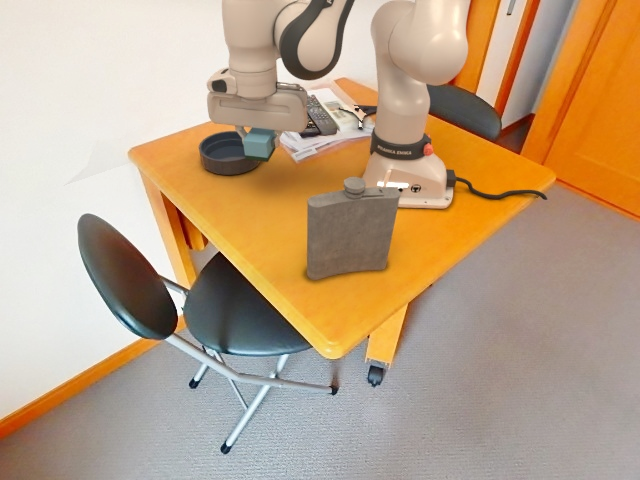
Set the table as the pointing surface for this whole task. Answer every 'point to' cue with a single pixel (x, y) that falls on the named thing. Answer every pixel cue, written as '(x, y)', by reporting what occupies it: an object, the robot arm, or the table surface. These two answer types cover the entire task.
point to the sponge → (259, 144)
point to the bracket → (366, 110)
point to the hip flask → (350, 229)
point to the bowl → (225, 154)
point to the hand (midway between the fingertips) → (261, 144)
